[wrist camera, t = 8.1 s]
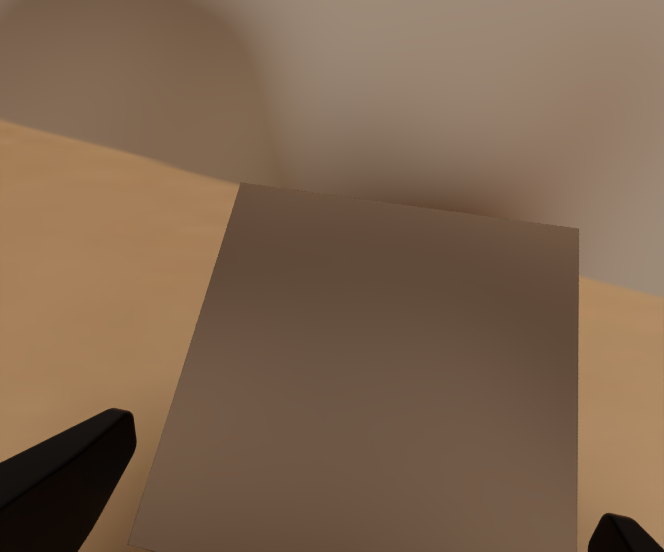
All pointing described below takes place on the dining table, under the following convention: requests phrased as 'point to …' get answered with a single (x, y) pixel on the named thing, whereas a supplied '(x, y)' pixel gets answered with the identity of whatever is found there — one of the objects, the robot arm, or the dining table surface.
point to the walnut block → (374, 386)
